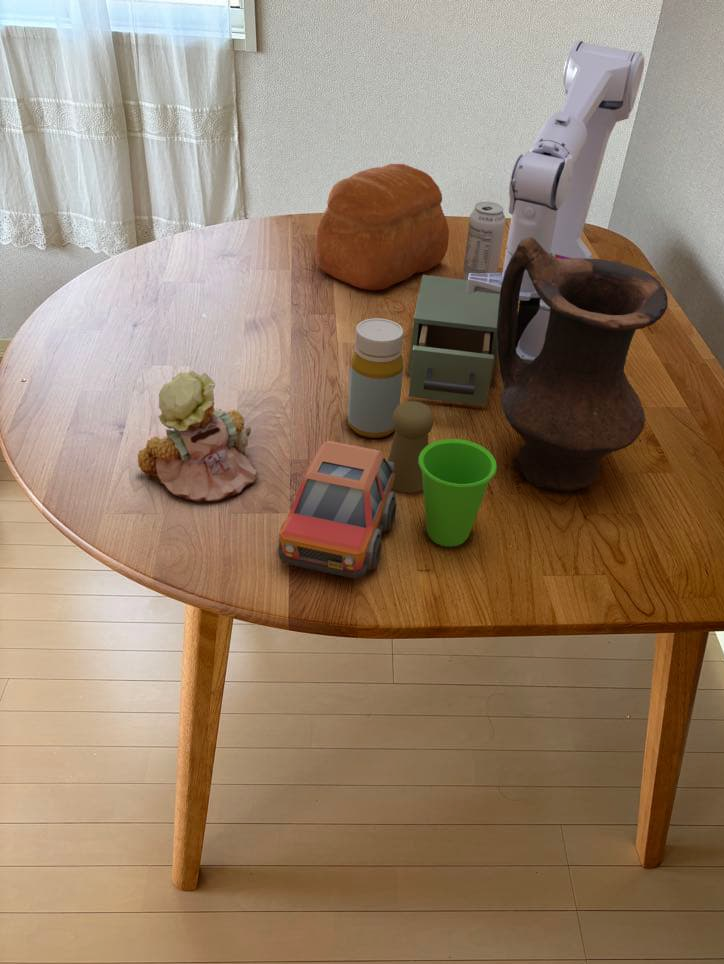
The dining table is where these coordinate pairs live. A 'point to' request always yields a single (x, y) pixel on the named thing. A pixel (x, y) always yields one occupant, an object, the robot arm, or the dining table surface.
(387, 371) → the bottle
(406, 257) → the bread
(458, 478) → the cup
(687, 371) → the dining table surface
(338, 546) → the toy car
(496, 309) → the cabinet
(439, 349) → the drawer
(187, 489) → the figurine
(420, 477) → the pepper shaker
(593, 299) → the jug
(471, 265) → the energy drink can
